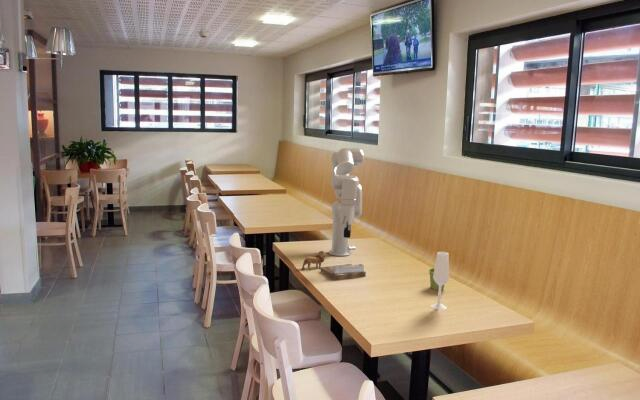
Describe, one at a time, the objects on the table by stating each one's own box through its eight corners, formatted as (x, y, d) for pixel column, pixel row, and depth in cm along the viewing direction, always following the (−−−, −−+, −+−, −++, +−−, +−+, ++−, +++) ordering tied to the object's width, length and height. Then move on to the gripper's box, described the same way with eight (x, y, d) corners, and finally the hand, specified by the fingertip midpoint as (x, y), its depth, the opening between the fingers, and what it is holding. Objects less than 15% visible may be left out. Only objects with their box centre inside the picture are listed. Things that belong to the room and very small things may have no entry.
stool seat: (350, 268, 272) (350, 263, 272) (365, 276, 259) (365, 271, 258) (320, 271, 264) (320, 267, 263) (334, 280, 251) (334, 275, 250)
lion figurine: (321, 265, 276) (322, 249, 274) (327, 267, 271) (328, 251, 270) (298, 269, 267) (299, 252, 265) (304, 271, 263) (305, 255, 261)
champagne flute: (449, 309, 218) (454, 255, 214) (435, 310, 216) (439, 255, 212) (441, 303, 224) (445, 250, 220) (427, 304, 222) (431, 251, 218)
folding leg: (361, 269, 260) (362, 264, 260) (364, 271, 258) (364, 265, 258) (332, 272, 254) (333, 266, 254) (334, 273, 252) (335, 267, 252)
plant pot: (448, 286, 248) (449, 269, 246) (446, 292, 239) (447, 275, 238) (428, 284, 251) (429, 267, 249) (426, 289, 242) (427, 272, 241)
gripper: (345, 199, 266) (343, 233, 269) (337, 203, 251) (335, 239, 254) (359, 200, 263) (357, 235, 266) (352, 204, 249) (350, 241, 252)
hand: (346, 237), depth 260 cm, fingers closed
